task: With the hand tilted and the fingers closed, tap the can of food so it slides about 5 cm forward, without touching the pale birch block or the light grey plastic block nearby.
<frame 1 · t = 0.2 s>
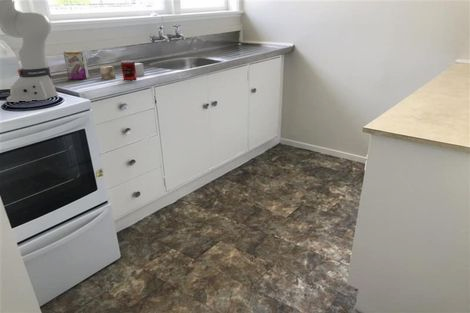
grey plastic block: (137, 75, 227), on the countertop
birch block: (108, 78, 219), on the countertop
canned food: (130, 80, 213), on the countertop
candy bar box: (79, 78, 220), on the countertop
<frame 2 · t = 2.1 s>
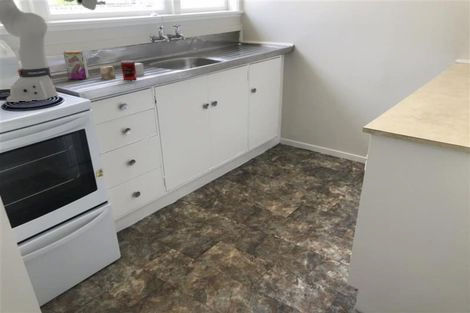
nothing on the countertop moved.
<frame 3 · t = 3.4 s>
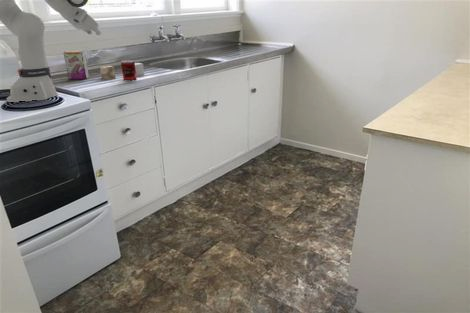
hand: (95, 33, 189), 27 cm above the countertop, tool tilted 45°, fingers open, 8 cm apart
nothing on the countertop moved.
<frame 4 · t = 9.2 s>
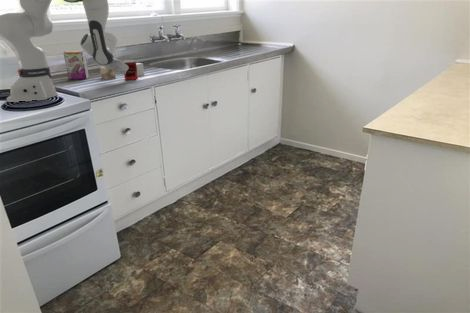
hand: (124, 73, 208), 4 cm above the countertop, tool tilted 45°, fingers closed, pressing on canned food
canned food: (131, 79, 214), on the countertop, touching gripper
everything else where it was.
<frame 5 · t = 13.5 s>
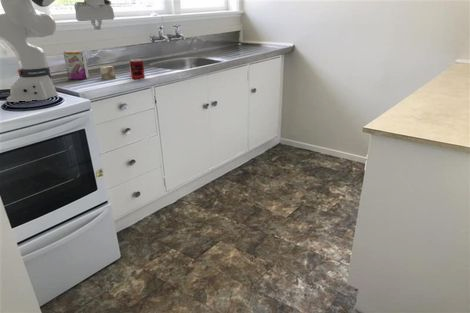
hand: (97, 29, 191), 29 cm above the countertop, tool pointing down, fingers closed
canned food: (138, 78, 217), on the countertop
everything else where it was.
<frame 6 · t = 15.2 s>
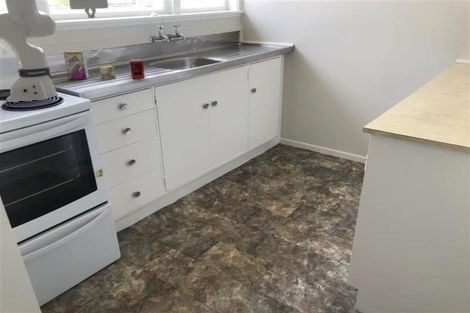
hand: (91, 18, 191), 35 cm above the countertop, tool pointing down, fingers closed
nothing on the countertop moved.
at the end: canned food inside the target area (0.5 cm from its centre), on the countertop; birch block moved 0.1 cm from its start; grey plastic block moved 0.1 cm from its start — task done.
